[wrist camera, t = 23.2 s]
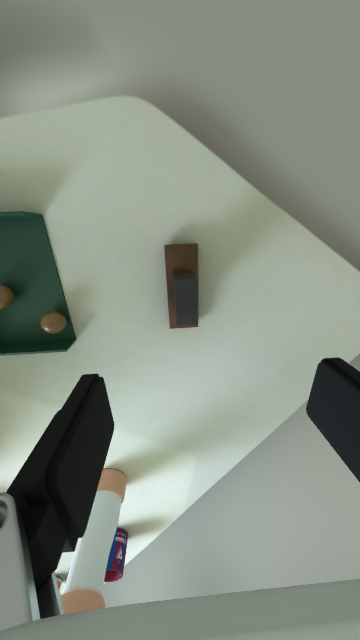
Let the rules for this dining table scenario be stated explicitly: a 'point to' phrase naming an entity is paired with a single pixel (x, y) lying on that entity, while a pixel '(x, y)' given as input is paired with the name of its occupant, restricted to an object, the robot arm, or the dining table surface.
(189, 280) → the brush
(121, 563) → the mug
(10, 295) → the crumb
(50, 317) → the crumb
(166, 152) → the dining table surface
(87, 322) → the dining table surface
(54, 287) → the dustpan
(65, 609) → the salt shaker
